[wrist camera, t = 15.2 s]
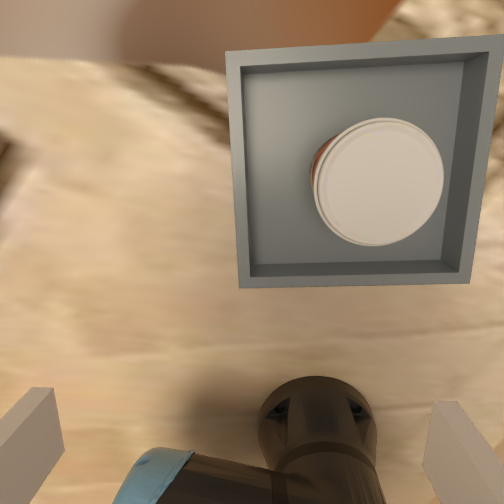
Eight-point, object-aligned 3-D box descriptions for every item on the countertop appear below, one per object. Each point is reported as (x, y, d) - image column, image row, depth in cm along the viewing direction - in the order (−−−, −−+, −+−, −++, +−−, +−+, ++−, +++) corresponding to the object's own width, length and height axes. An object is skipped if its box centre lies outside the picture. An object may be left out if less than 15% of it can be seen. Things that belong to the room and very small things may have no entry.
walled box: (446, 266, 40) (469, 283, 36) (242, 271, 42) (239, 288, 37) (473, 49, 34) (506, 34, 29) (231, 63, 35) (225, 51, 30)
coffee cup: (350, 103, 35) (389, 85, 23) (411, 171, 36) (476, 185, 25) (282, 173, 37) (288, 188, 26) (343, 234, 39) (373, 273, 27)
